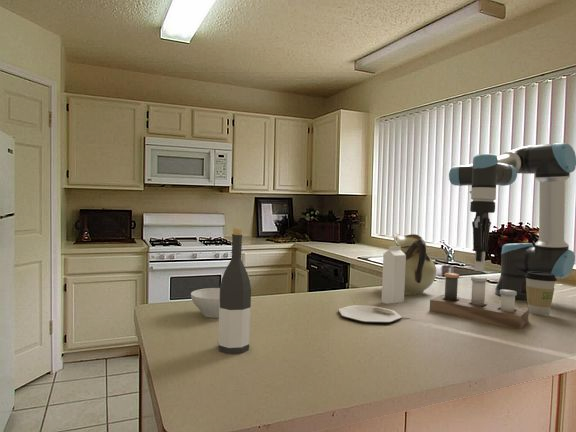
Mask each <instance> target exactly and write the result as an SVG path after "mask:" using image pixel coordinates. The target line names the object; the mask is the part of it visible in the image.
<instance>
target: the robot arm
mask: <svg viewBox="0 0 576 432" xmlns="http://www.w3.org/2000/svg"><path fill="white" fill-rule="evenodd" d="M575 170H576V152H575V150H574V148H573V146H572V145H570V144H569V143H567V142H555V143H544V144H535V145H526V146H521V147H518V148H515V149H511V150H509V151H506V152H502V154H500V156H497V154H493V153H480V154H476V155H474V156H473V159H472V163H470V164H466V165H465V164H464V165H455V166H452V167H451V168H450V169H449V173H448V180H449V183H450V184H451V185H453V186H455V187H457V186H460V187H462V186H464V187H465V186H471V189H470V190H469V193H470V199H471V200H472V201H470V205H469V206H470V208H469V211H470V212H471V213H475V217H474V218H473V219H474V220H473V221H471V225H472V245H473V246H472V247H473V248H472V252H474V255H475V256H474V271H476V272H485V262H486V261H485V259H486V252H487V253H488V251H489V249H488V245H489V237H490V228H491V224H492V222H491V221H490V218H489V214H492V213H495V212H496V202H495V200H497V186H500V187H501V186H502V187H503V186H504V187H505V186H509V185H512V184H513V183H514V182H515V181H516V179H517V178H518V174H523V175H524V174H526V175H528V174H534V175H535V176H534V178H535V179H536V180H537V182H539V190H538V191H539V195H538V196H539V197H538V198H539V204H538V205H539V206H538V207H539V209H538V211H539V212H538V217H539V218H538V240H537V241H536V242H535V243H534V244H533V243H532V242H526V243H525V242H524V243H521V242H520V243H505V244H503V245H502V247H501V253H500V256H501V259H500V260H501V262H500V276H499V279H498V282H497V284H496V287H495V291H494V293H495V295H498V296H499V297H501V294H500V290H501V289H505V290H513V291H516V292H517V295H516V296H515V300H516V299H517V300H527V292H526V278H525V275H526V274H527V272H528V271H536V272H546V273H552V274H555V278H556V279H565V278H567V277H568V276H569V275H570V274H571V273H572V271H573V268H574V265H575V261H576V255H575V252H574V251H573V250H571V249H569V244H568V243H567V242H566V241H565V203H566V201H565V199H566V197H565V195H566V191H565V190H566V187H565V186H566V180H568V179H569V178H570V173H573V172H575Z"/></svg>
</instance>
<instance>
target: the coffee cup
mask: <svg viewBox="0 0 576 432" xmlns="http://www.w3.org/2000/svg"><path fill="white" fill-rule="evenodd" d="M525 278H526V292H527V299H526V302H527V308H528V309H529V313H530V314H534V315H540V316H546V317H549V316H550V312H551V307H552V302H553V297H554V292H555V286H556V285H555V284H556V282H557V278H555V274H552V273H546V272H536V271H528V272H527V274H526V275H525Z"/></svg>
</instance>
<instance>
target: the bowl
mask: <svg viewBox="0 0 576 432" xmlns="http://www.w3.org/2000/svg"><path fill="white" fill-rule="evenodd" d="M190 298H191V302H192V303H193V305H194V306H195V307H196V308H197V309H198V310H199V311H200V312H201V314H202V316H204V317H206V318H211V319H213V318H214V319H215V318H217V319H219V301H220V287H210V288H201V289H195V290H193V291H191V292H190Z"/></svg>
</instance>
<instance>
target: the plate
mask: <svg viewBox="0 0 576 432" xmlns="http://www.w3.org/2000/svg"><path fill="white" fill-rule="evenodd" d="M375 309H381V310H385V311H390V312H392V313H393V314H392V313H388V312H384V311H380V310H375ZM337 311H338V312H339V313H340V316H341V317H342V318H345V319H349V320H353V321H355V322H356V321H357V322H360V323H365V324H366V323H371V324H372V323H373V324H375V323H376V324H389V323H390V324H391V323H393V322H396V321H398V320H401V319H402V315H400V314H399V312H397V311H395V310H394V309H389V308H385V307H380V306H377V305H358V304H357V305H356V304H354V305H348V306H345V307H340V308H338V310H337Z"/></svg>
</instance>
